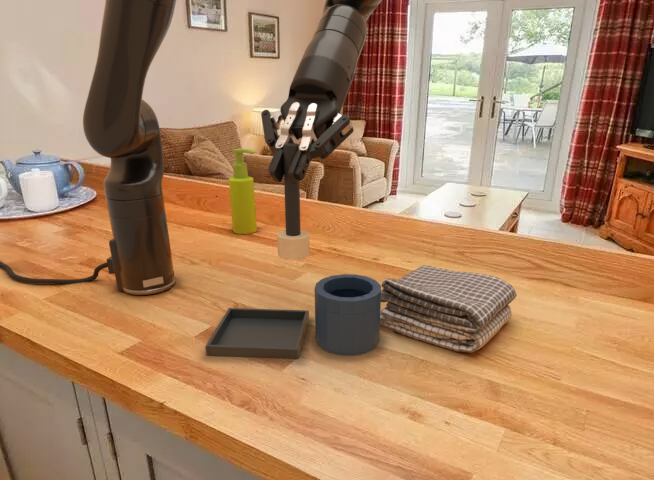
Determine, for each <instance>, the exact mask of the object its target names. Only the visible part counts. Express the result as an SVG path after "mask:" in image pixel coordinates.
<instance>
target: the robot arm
mask: <svg viewBox="0 0 654 480" xmlns="http://www.w3.org/2000/svg"><path fill="white" fill-rule="evenodd" d="M382 1H383V0H325V1H324V4H323V9H322V14H321V18H320V19H319V20H318V21H319V22H318V23H317V26H316V29H315V31H314V34H313V35H312V38H311V40H310V42H309V43H308V45H307V46H306V48H305V50H304V52H303V55H302V57H301V59H300V61H299V64H298V66H297V68H296V71H295V74H294V76H293V79H292V81H291V83H290V86H289V90H288V96H287V99H286V101H284V103H282V104H281V106H280V109H278V110H276V111H274V112H270V110H268V109H264V110H262V111H261V113H260V116H261V123H262V130H263V135H264V142H265V144H267V146H268V148H269V149H270V152H271V153H272V157H271V160H270V163H269V165H268V170H267V171H268V172H269V175H270V177H271V178H272V180H273V181H274V182H275V183H281V182H282V181H283V179H284V157H283V144H285V143H296V144H299V151H296V154H295V156H294V159H293V161H292V164H291V166H290V169H289V171H288V178H289V179H290V181H291V182H292V184H299V182H300V183H301V181H303V180H304V179H305V177H306V175H307V172H308V170H309V166H310V164H311V162H312V161H314V160H315V159H317V158H319V159H320V160H325V159H327V158H328V157H329V156H331V154H332V153H333V152H334V151H335V150H336V149H338V147H339V146H341V144H342V143H343V142H345V141H346V140H347V138H349V137H350V136H351V135H352V134H353V133H354V131H355V129H354V126H353V123H352V119H350V116H349V114H341V112H342V110H343V107H344V104H345V101H346V98H347V95H348V93H349V91H350V89H351V86H352V83H353V81H354V78H355V73H356V70H357V64H358V61H359V59H360V55H361V53H362V50H363V48H364V45H365V41H366V38H367V30H368V27H367V21H368V20H369V18H370V16H371V15H372V14H373V13H374V11H375V10H376V8H377V7H378V6H379V5H380V4H381V2H382ZM176 3H177V0H105V3H104V9H103V15H102V23H101V28H100V29H101V30H100V36H99V43H98V44H99V45H98V52H97V58H96V62H95V67H94V71H93V75H92V79H91V82H90V86H89V90H88V93H87V98H86V101H85V106H84V110H83V115H82V128H83V133H84V136H85V139H86V141H87V143H88V145H89V146H90V147H91V148H92V150H94V151H95V152H96V153H97V154H99V155H100V156H102V157H105V158H109V159H110V166H109V170H108V172H107V174H106V176H105V177H104V180H103V192H104V196H105V202H106V208H107V212H108V219H109V223H110V227H111V233H112V238H111V239H110V240H109V241H108V246H109V250H110V256H109V257H108V258H107V259H106V262H104V263H101V264H98V265H97V266H96V267H95V268H94V269H93V274H92V275H90V276H87V277H84V278H76V279H74V278H73V279H63V278H61V279H60V278H34V277H26V276H23V275H20V274H16V273H15V272H14V270H13V269H12V268H11V267H10V266H9V265H8V264H6V263H5V262H3V261H1V260H0V267H1V268H2V269H4V270H5V271H6V272H7V274H8V275H9V277H11V278H12V279H14V280H16V281H20V282H23V283H29V284H30V283H31V284H44V285H45V284H49V285H50V284H54V285H70V284H81V283H89V282H92V281H95V280H96V279H98V277H99V275H100V271H102V270H104V269H106V268H107V269H108V274H109V275H114V278H115V283H116V287H117V291H118V292H124V293H126V294H128V295H132V296H133V295H134V296H149V295H154V294H155V295H156V294H159V293H162V292H165V291H167V290H170V289H171V288H173V287H174V286H176V285H175V284H176V282H177V280H176V276H175V270H174V263H173V256H172V249H171V241H170V234H169V227H168V219H167V214H166V207H165V200H164V194H163V193H164V192H163V191H164V190H163V179H164V173H165V168H164V167H165V166H164V155H163V145H162V136H161V128H160V124H159V120H158V117H157V115H156V113H155V111H154V109H153V108H152V106H151V105H150V104H149V103H148V102H146V101H145V100H144V99H143V94H144V88H145V84H146V79H147V76H148V72H149V70H150V67H151V65H152V63H153V61H154V59H155V57H156V55H157V53H158V51H159V49H160V47H161V46H162V44H163V41H165V39H166V36H167V34H168V31H169V29H170V26H171V25H172V21H173V17H174V13H175V8H176ZM282 121H283V123H282V125H281V122H282ZM279 130H280V135H279V133H278V131H279Z"/></svg>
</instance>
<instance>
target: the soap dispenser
mask: <svg viewBox="0 0 654 480" xmlns="http://www.w3.org/2000/svg"><path fill="white" fill-rule="evenodd" d="M256 153H257V151H256V150H255V149H250V148H235V149H232V150H231V154H235V162H234V163H232V173H233V176H231V177H229V178H228V188H229V201H230V210H231V211H230V212H231V222H232V232H233V233H234V234H239V235H249V234H253V233H255V232H257V231H258V227H257V214H256V210H257V209H256V200H255V199H256V197H255V196H256V195H255V181H254V177H252V176H249V172H248V163H247V162H245V161H244V154H249V155H254V154H256Z"/></svg>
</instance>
